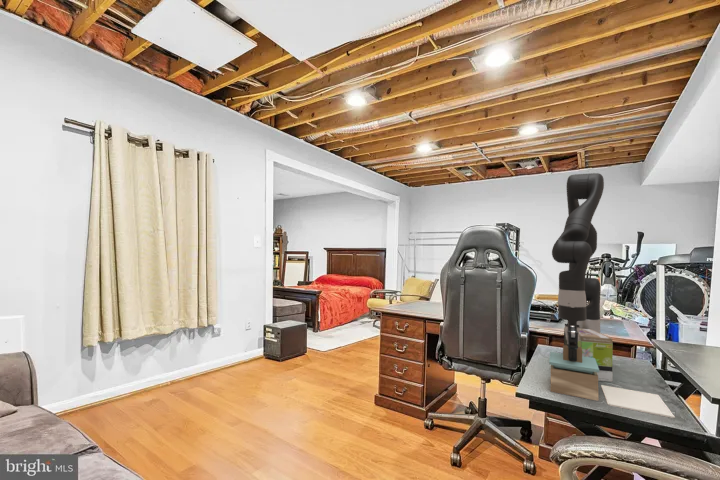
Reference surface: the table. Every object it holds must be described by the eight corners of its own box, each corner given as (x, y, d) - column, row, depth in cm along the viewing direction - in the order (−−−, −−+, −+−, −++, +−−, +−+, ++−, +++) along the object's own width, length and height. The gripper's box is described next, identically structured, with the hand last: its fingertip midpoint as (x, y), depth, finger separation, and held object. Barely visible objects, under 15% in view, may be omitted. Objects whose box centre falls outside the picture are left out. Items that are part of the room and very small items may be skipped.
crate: (551, 379, 112) (550, 358, 113) (594, 386, 106) (593, 364, 107) (550, 391, 102) (550, 368, 102) (598, 400, 96) (598, 376, 96)
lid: (549, 356, 113) (549, 339, 114) (594, 363, 107) (594, 345, 107) (549, 367, 102) (549, 348, 103) (599, 376, 96) (599, 355, 96)
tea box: (614, 382, 111) (613, 337, 111) (580, 379, 113) (580, 335, 113) (592, 367, 125) (591, 328, 126) (562, 365, 127) (562, 326, 128)
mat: (601, 386, 107) (601, 384, 107) (658, 396, 100) (658, 394, 100) (608, 405, 93) (607, 403, 93) (674, 418, 86) (674, 416, 86)
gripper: (557, 300, 113) (558, 351, 113) (558, 305, 101) (558, 363, 101) (584, 302, 109) (585, 355, 109) (588, 308, 97) (588, 367, 97)
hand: (572, 358), depth 105 cm, fingers closed on lid, 3 cm apart
